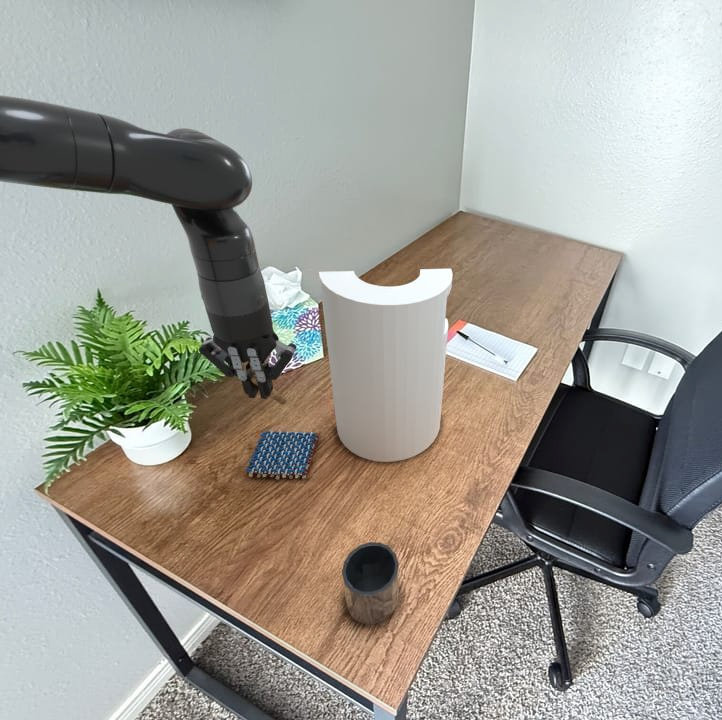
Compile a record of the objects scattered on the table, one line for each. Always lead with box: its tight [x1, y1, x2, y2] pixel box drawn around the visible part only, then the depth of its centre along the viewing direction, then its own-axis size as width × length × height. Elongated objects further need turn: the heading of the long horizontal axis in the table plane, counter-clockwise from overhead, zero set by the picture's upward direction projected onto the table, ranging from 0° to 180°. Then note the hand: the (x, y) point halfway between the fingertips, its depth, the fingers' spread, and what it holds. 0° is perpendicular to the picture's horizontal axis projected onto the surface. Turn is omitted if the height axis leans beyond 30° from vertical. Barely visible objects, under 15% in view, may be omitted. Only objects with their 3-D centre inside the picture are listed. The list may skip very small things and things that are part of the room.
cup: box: [341, 541, 400, 626], centre depth 66 cm, size 7×7×9 cm
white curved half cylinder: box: [318, 268, 453, 463], centre depth 82 cm, size 35×11×21 cm
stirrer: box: [251, 374, 288, 405], centre depth 76 cm, size 9×1×13 cm, turn 1°
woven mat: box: [245, 430, 319, 481], centre depth 86 cm, size 10×11×2 cm
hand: (260, 394), depth 72 cm, fingers closed on stirrer, 1 cm apart
